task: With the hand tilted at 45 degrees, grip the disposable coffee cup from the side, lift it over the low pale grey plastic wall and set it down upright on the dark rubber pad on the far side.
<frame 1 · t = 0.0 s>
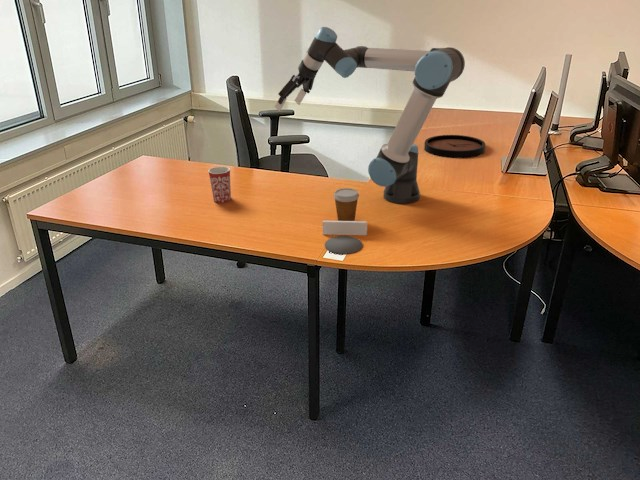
hand: (287, 105, 222), 36 cm above the table, tool tilted 35°, fingers open, 13 cm apart
disposable coffee cup: (346, 222, 202), on the table
rubber pad: (343, 245, 184), on the table
mug: (222, 198, 227), on the table
wall clock: (454, 150, 283), on the table
low wall: (344, 234, 192), on the table
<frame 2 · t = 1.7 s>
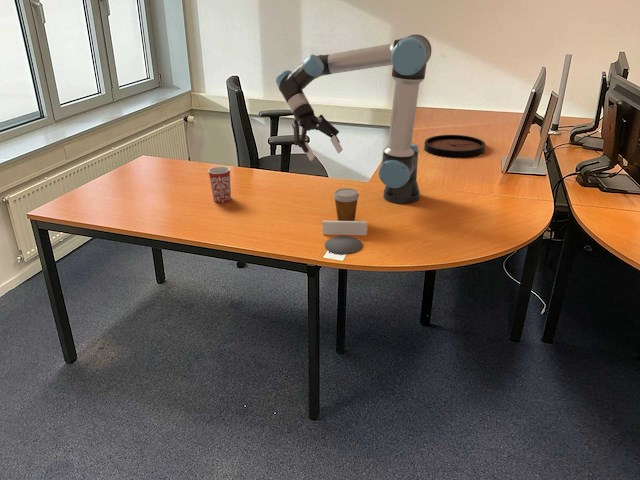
hand: (326, 155, 199), 24 cm above the table, tool tilted 45°, fingers open, 13 cm apart
nothing on the table moved.
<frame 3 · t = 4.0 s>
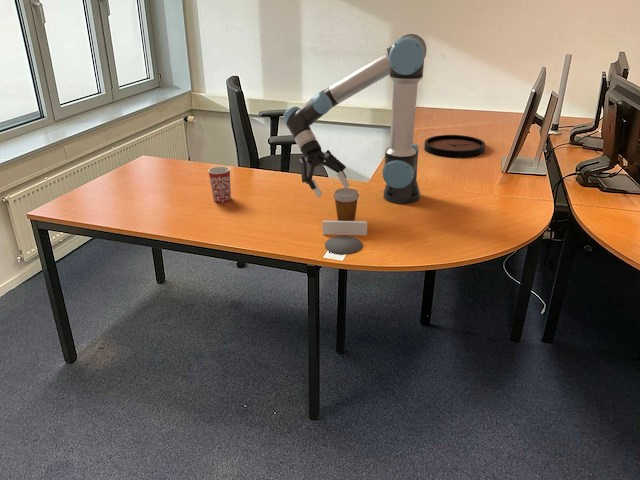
hand: (333, 191, 201), 11 cm above the table, tool tilted 45°, fingers open, 13 cm apart
nothing on the table moved.
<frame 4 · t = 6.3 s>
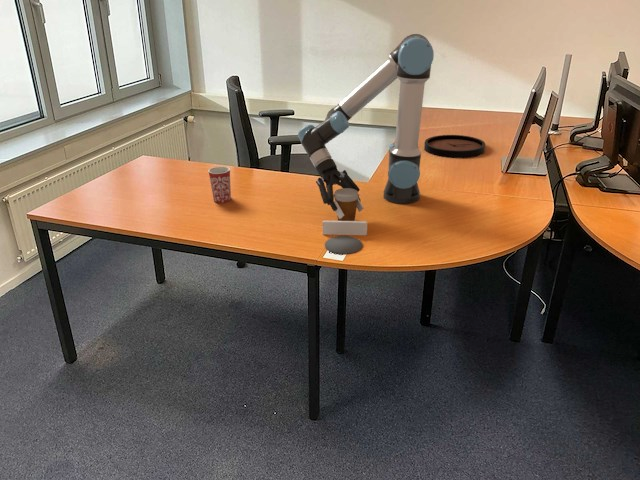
hand: (351, 213, 198), 4 cm above the table, tool tilted 45°, fingers closed on disposable coffee cup, 9 cm apart
disposable coffee cup: (346, 222, 202), on the table, touching gripper
everything else where it was.
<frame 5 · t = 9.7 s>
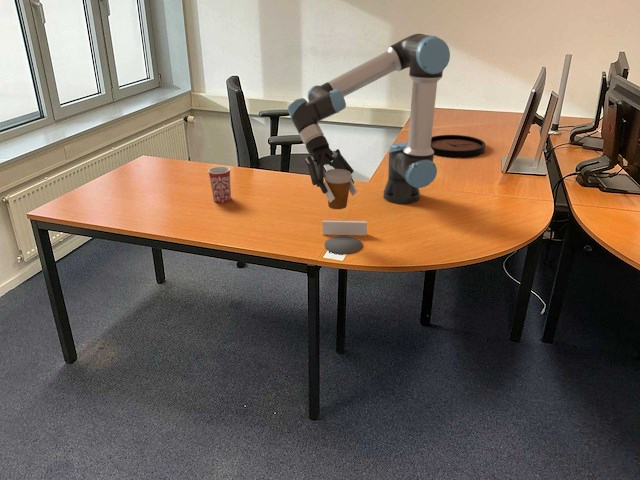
hand: (343, 197, 179), 17 cm above the table, tool tilted 45°, fingers closed on disposable coffee cup, 9 cm apart
disposable coffee cup: (337, 206, 183), point 12 cm above the table, touching gripper
everything else where it was.
when the fingers open (6 cm above the table, at t = 13.2 s): disposable coffee cup drops 1 cm, resting on rubber pad.
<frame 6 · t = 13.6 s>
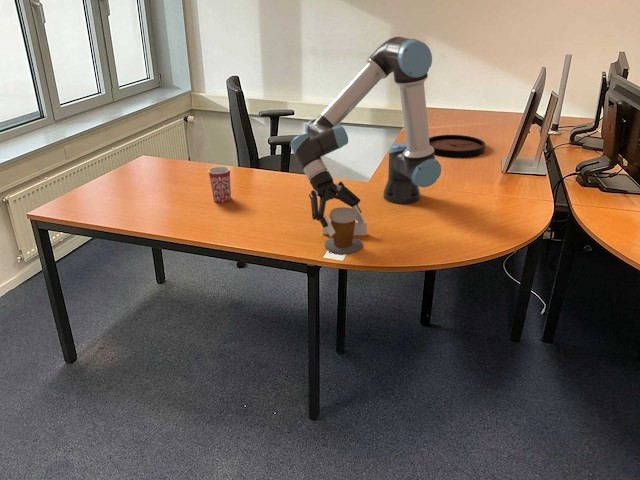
hand: (348, 228, 179), 7 cm above the table, tool tilted 45°, fingers open, 13 cm apart
disposable coffee cup: (342, 244, 184), resting on rubber pad
everything else where it was.
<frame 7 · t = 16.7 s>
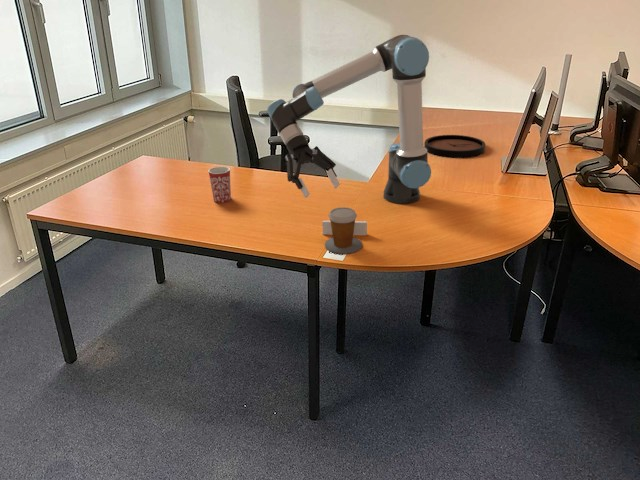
hand: (322, 191, 184), 17 cm above the table, tool tilted 45°, fingers open, 13 cm apart
nothing on the table moved.
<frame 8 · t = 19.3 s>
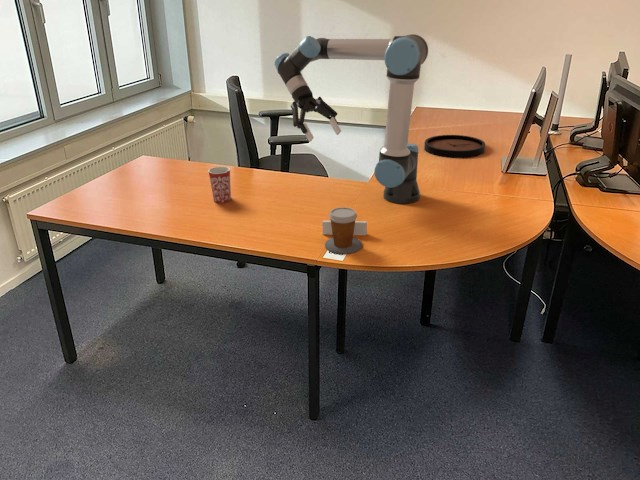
hand: (325, 136, 200), 30 cm above the table, tool tilted 45°, fingers open, 13 cm apart
nothing on the table moved.
at the end: disposable coffee cup inside the target area on the rubber pad (0.2 cm from its centre), point 0.3 cm above the rubber pad's base; disposable coffee cup tilted 0°; the gripper is holding nothing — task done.
